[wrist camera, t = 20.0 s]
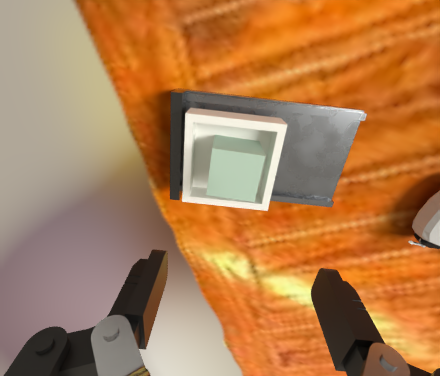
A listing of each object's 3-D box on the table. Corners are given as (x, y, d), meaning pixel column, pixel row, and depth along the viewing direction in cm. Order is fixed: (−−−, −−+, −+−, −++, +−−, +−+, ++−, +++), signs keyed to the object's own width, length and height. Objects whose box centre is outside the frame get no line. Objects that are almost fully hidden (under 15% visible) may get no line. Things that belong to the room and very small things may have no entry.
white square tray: (193, 105, 28) (185, 113, 23) (277, 114, 28) (287, 124, 23) (189, 181, 32) (182, 201, 27) (261, 189, 32) (267, 210, 28)
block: (215, 134, 26) (212, 148, 22) (259, 141, 26) (265, 156, 22) (209, 175, 28) (206, 195, 24) (250, 181, 29) (254, 201, 24)
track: (178, 88, 28) (170, 91, 25) (360, 109, 28) (378, 115, 25) (176, 185, 34) (170, 199, 30) (326, 201, 34) (337, 217, 31)
